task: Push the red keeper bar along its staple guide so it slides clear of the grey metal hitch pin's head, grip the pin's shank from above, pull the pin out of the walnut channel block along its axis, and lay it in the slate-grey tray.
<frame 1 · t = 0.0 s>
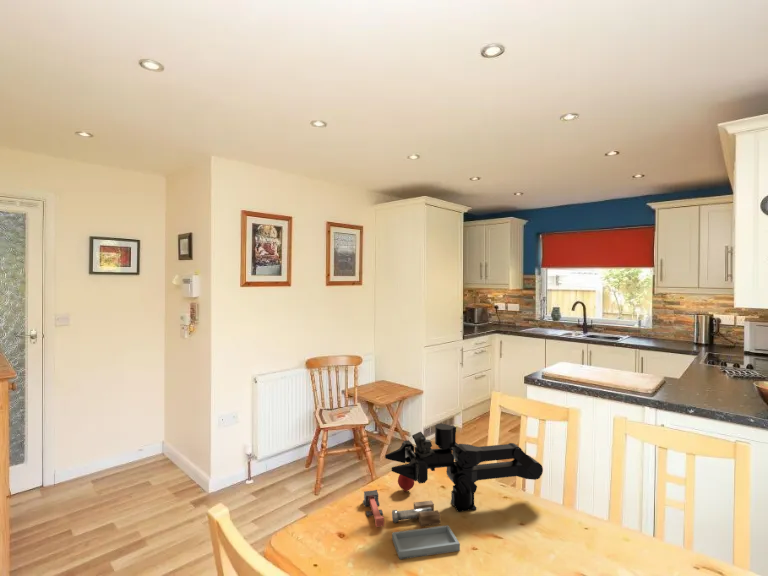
hand: (388, 462, 127), 17 cm above the table, tool horizontal, fingers open, 9 cm apart
keeper guide: (371, 503, 134), on the table
keeper bar: (374, 507, 128), point 2 cm above the table, slide at 0.0 cm
tray: (425, 544, 113), on the table
onion: (406, 491, 142), on the table
channel block: (426, 517, 126), on the table
pin: (414, 519, 125), on the table, touching channel block
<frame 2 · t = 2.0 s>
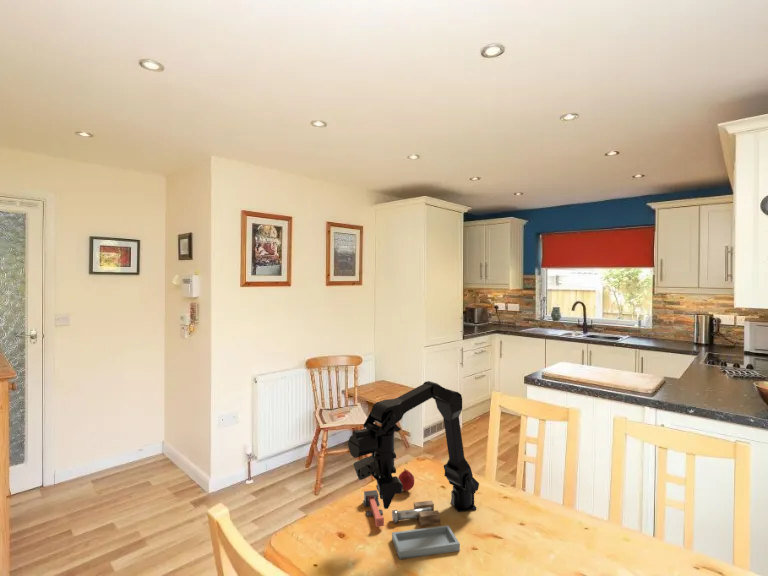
hand: (384, 503, 114), 11 cm above the table, tool pointing down, fingers open, 5 cm apart
nothing on the table moved.
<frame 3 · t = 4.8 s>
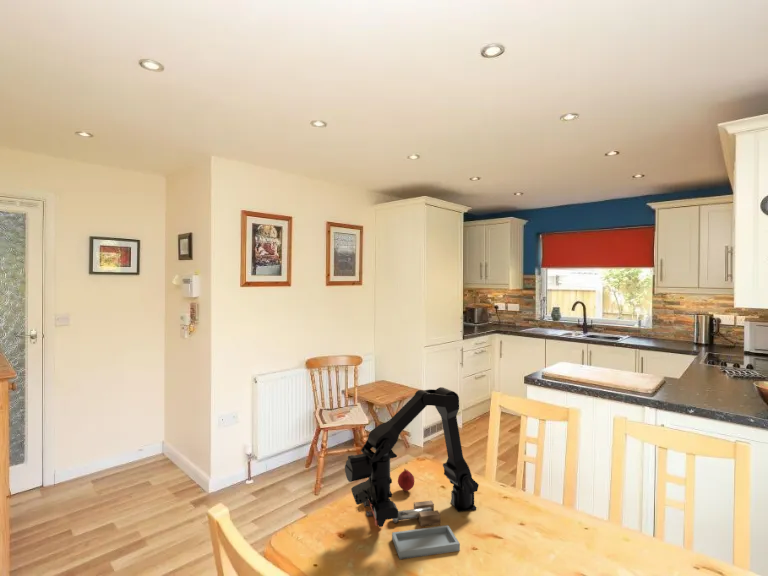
hand: (380, 526, 119), 1 cm above the table, tool pointing down, fingers closed
keeper bar: (374, 506, 128), point 2 cm above the table, slide at 0.6 cm, touching gripper
everything else where it was.
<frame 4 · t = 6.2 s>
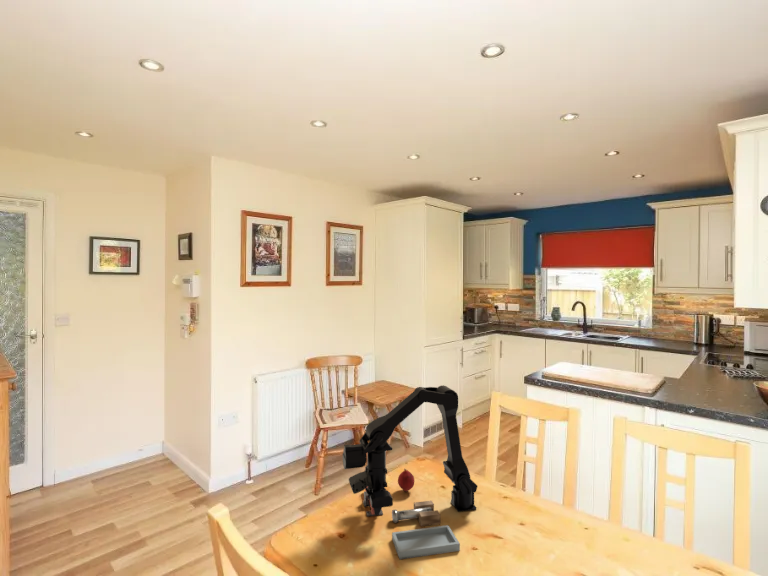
hand: (376, 514, 125), 1 cm above the table, tool pointing down, fingers closed
keeper bar: (371, 496, 134), point 2 cm above the table, slide at 6.7 cm, touching gripper
everything else where it was.
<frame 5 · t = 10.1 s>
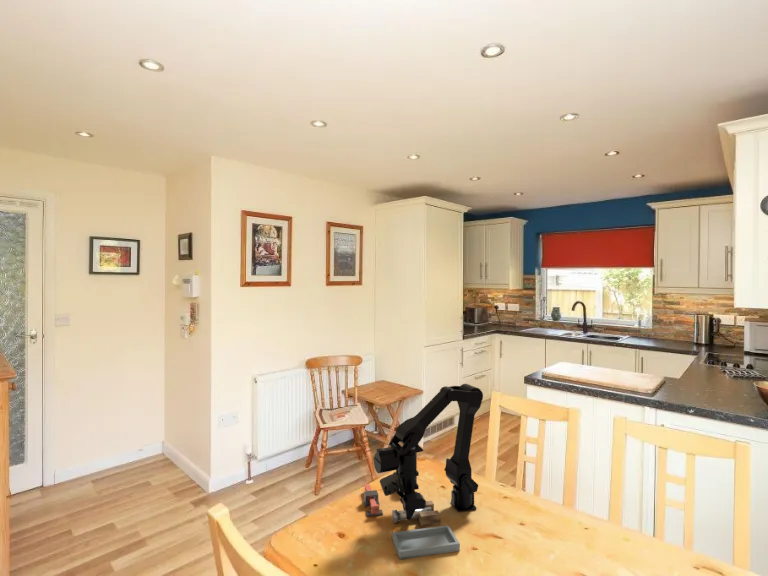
hand: (407, 516, 125), 1 cm above the table, tool pointing down, fingers closed on pin, 2 cm apart
keeper bar: (371, 496, 134), point 2 cm above the table, slide at 6.7 cm
pin: (414, 519, 125), on the table, touching channel block, gripper
everything else where it was.
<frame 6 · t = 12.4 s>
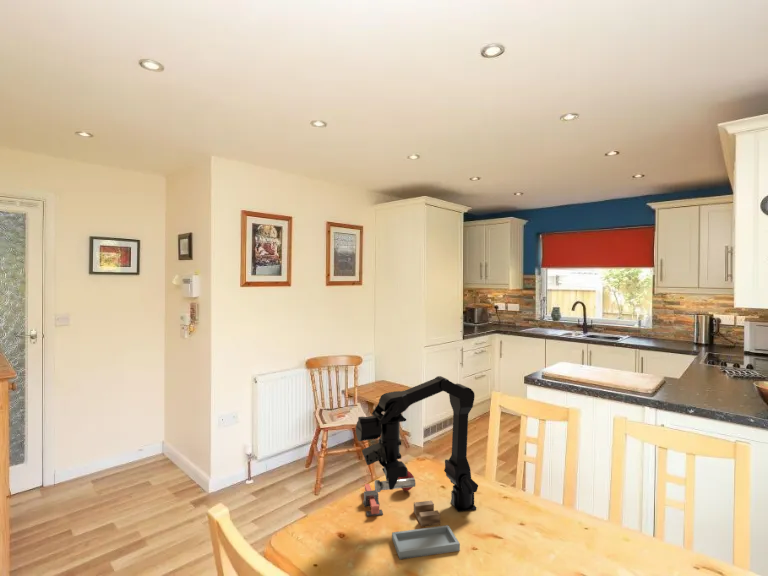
hand: (390, 487, 123), 11 cm above the table, tool pointing down, fingers closed on pin, 2 cm apart
pin: (397, 489, 124), point 10 cm above the table, touching gripper
everything else where it was.
when the fingers open (3 cm above the table, at t = 15.0 s): pin drops 2 cm, resting on tray.
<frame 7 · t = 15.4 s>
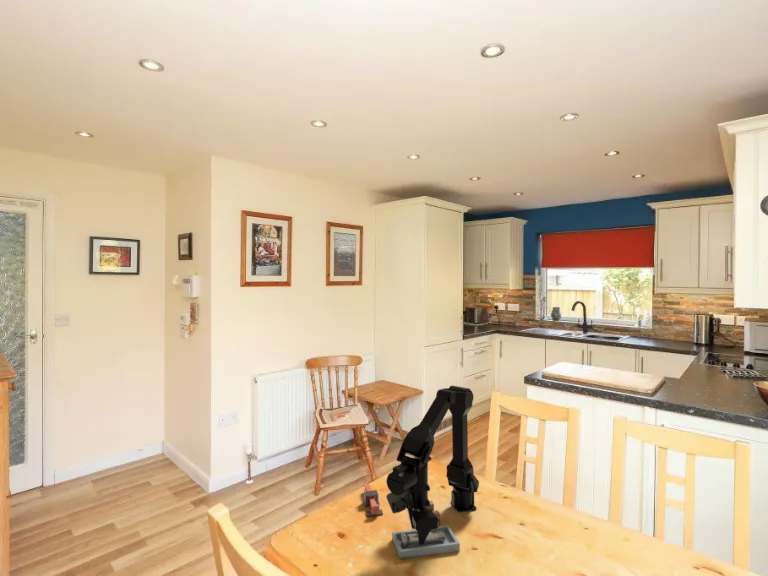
hand: (417, 536, 112), 3 cm above the table, tool pointing down, fingers open, 7 cm apart
pin: (424, 544, 113), resting on tray
everything else where it was.
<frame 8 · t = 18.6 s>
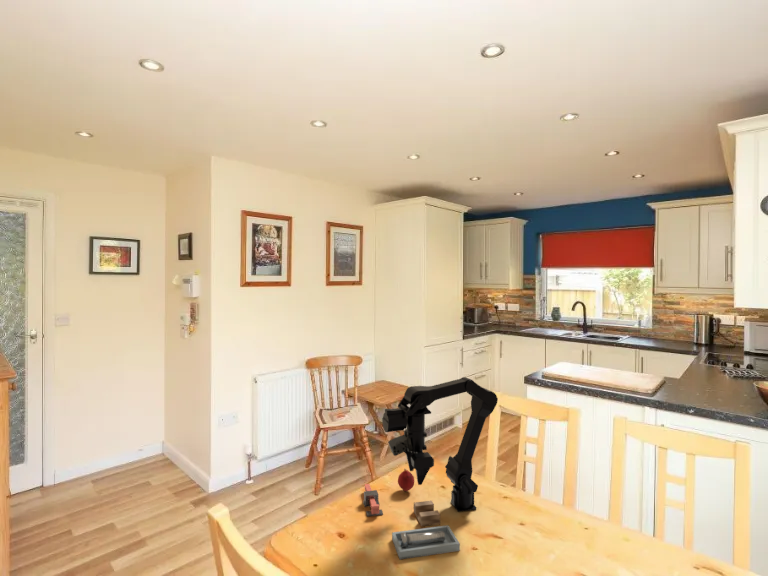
hand: (415, 477, 127), 12 cm above the table, tool pointing down, fingers open, 9 cm apart
nothing on the table moved.
at the end: keeper bar slide at 6.7 cm; pin inside the target area on the tray (0.2 cm from its centre), point 0.2 cm above the tray's base; the gripper is holding nothing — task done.
